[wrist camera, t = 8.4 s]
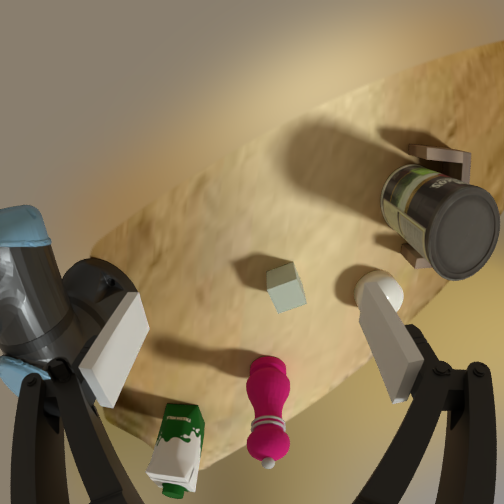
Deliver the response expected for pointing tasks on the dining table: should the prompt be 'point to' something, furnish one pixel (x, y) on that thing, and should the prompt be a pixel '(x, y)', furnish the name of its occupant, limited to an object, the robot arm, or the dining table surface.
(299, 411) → the dining table surface
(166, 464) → the milk carton
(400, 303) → the white glossy round part
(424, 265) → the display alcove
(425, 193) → the coffee can
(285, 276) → the sage block
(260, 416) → the pepper mill
